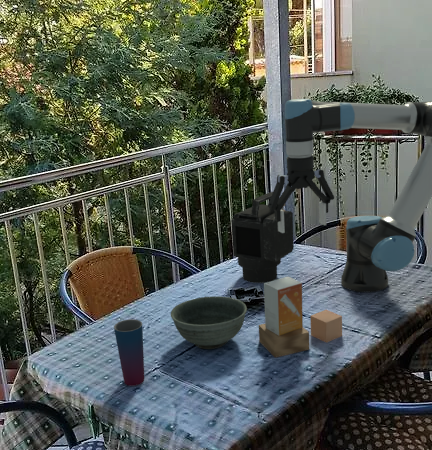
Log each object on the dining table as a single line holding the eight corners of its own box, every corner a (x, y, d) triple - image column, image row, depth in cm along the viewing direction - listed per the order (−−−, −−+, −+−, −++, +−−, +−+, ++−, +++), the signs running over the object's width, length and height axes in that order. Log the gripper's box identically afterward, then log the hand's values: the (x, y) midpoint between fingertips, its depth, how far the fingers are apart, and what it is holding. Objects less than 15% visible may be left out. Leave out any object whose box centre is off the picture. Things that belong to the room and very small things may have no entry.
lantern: (253, 266, 219) (249, 188, 211) (296, 274, 209) (293, 192, 200) (230, 280, 207) (225, 197, 199) (274, 289, 197) (271, 202, 189)
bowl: (193, 368, 150) (190, 332, 147) (161, 337, 168) (158, 305, 165) (262, 346, 159) (261, 312, 156) (225, 319, 177) (223, 288, 174)
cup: (121, 375, 149) (115, 320, 145) (148, 372, 149) (142, 318, 145) (119, 389, 142) (112, 332, 138) (147, 386, 143) (141, 330, 139)
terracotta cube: (326, 329, 166) (326, 309, 165) (342, 336, 162) (342, 316, 160) (310, 335, 163) (310, 315, 162) (326, 343, 158) (326, 322, 157)
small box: (279, 336, 153) (277, 290, 149) (264, 328, 158) (262, 282, 154) (303, 328, 157) (302, 282, 153) (288, 320, 162) (287, 275, 158)
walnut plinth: (292, 334, 165) (291, 317, 163) (309, 349, 155) (309, 332, 154) (259, 341, 161) (258, 324, 160) (275, 357, 152) (274, 340, 151)
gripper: (331, 148, 173) (332, 218, 178) (253, 159, 165) (257, 231, 170) (345, 151, 166) (346, 224, 172) (265, 163, 158) (269, 238, 164)
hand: (302, 228), depth 171 cm, fingers open, 13 cm apart
